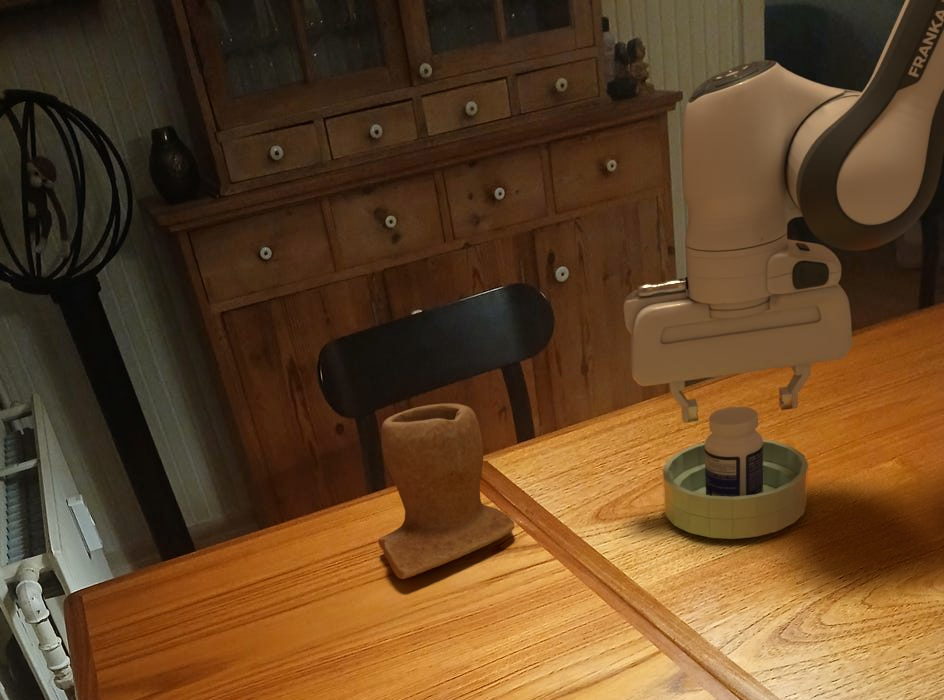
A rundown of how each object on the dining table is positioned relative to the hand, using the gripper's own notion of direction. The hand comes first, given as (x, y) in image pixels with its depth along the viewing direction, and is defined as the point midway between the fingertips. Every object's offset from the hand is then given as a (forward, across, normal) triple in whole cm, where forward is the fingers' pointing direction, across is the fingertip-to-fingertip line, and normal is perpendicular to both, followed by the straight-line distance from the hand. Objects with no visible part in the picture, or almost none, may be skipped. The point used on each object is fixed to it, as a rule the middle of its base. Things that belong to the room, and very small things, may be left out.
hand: (738, 413), depth 97 cm
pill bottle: (+10, -1, 0) cm, 10 cm away
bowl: (+11, -1, 0) cm, 11 cm away
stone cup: (+10, -32, -2) cm, 33 cm away
